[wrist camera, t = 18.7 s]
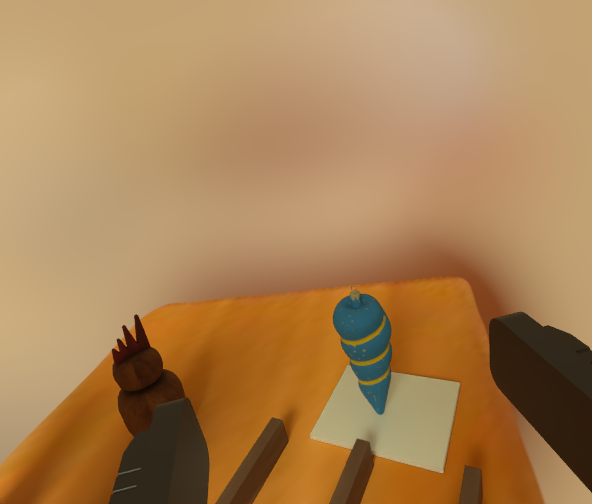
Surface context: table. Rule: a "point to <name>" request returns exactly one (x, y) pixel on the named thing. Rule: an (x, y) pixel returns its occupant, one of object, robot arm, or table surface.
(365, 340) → the ornament
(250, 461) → the lane rack
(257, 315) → the table surface
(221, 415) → the table surface
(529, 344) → the robot arm
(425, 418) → the pad
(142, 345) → the wooden figurine
